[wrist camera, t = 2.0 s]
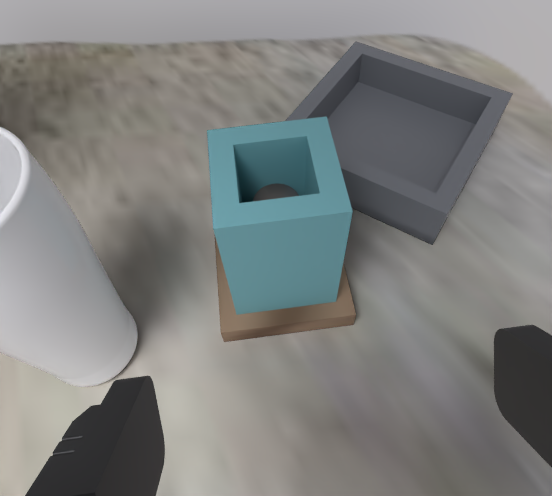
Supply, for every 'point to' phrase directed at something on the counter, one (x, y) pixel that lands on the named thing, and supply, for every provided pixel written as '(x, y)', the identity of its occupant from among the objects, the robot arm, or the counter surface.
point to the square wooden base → (287, 317)
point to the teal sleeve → (279, 213)
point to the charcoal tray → (404, 134)
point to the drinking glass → (54, 281)
